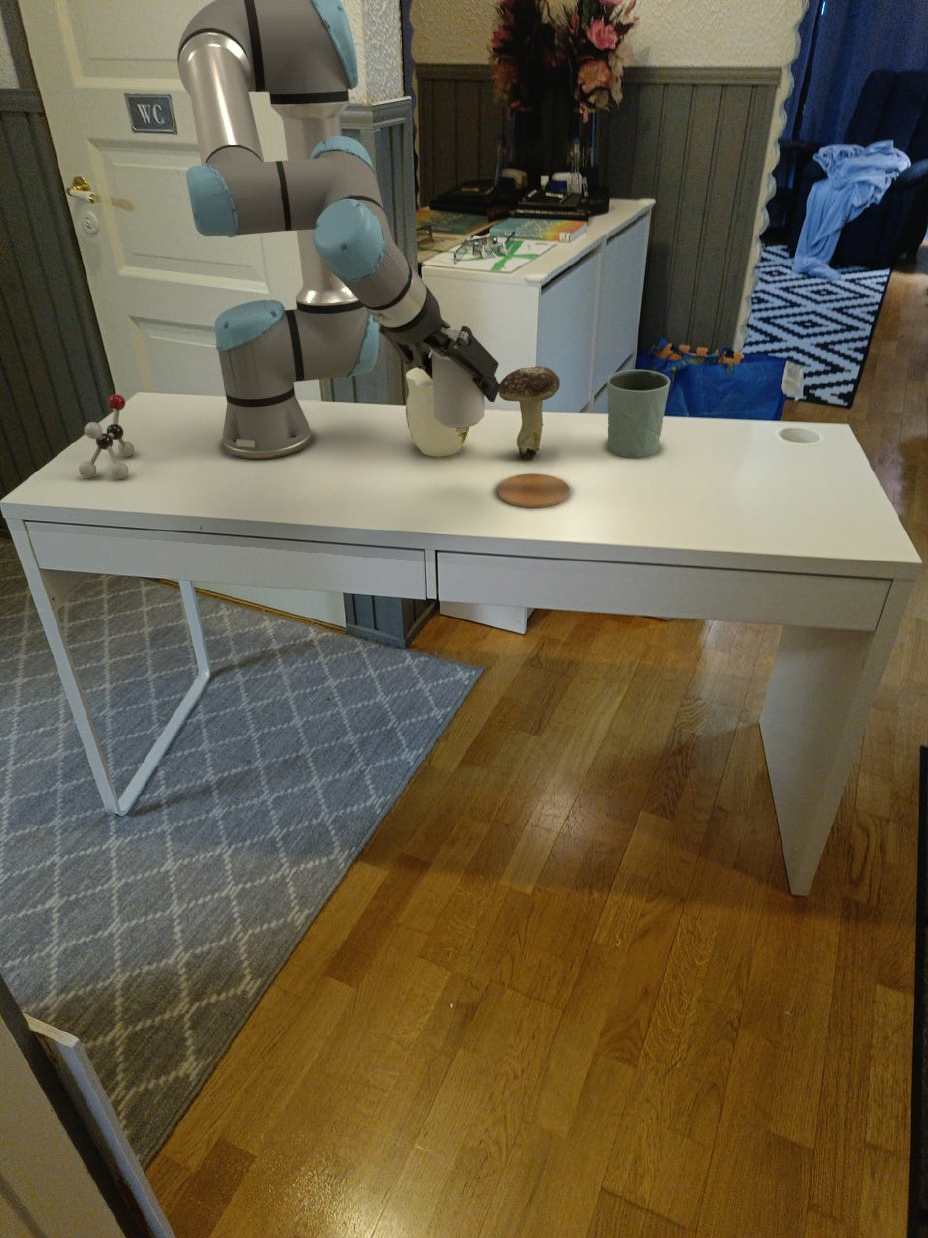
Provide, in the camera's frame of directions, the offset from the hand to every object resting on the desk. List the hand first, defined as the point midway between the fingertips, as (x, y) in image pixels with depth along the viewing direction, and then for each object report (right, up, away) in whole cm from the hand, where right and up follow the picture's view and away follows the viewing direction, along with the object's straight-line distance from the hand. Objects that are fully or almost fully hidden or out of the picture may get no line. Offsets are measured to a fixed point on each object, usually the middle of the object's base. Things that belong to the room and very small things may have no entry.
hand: (471, 388), depth 131 cm
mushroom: (+10, -7, +18) cm, 21 cm away
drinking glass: (+28, -5, +20) cm, 34 cm away
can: (-2, -5, 0) cm, 5 cm away
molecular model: (-60, -8, +18) cm, 63 cm away
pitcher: (-5, -5, +22) cm, 23 cm away
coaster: (+10, -14, +7) cm, 19 cm away
